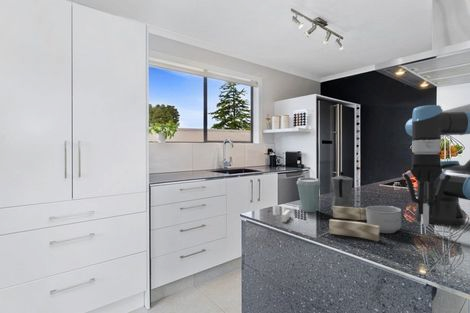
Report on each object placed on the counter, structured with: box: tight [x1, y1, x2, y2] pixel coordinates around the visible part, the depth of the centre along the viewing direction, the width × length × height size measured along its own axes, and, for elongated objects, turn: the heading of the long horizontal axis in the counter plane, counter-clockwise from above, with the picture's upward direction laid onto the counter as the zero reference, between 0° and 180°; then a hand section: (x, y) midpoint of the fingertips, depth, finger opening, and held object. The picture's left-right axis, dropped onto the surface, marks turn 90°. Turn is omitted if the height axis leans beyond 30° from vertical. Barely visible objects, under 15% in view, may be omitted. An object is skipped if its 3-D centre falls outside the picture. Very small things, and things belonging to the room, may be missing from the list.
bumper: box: [281, 209, 291, 223], centre depth 103 cm, size 2×8×3 cm, turn 155°
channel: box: [328, 206, 380, 242], centre depth 93 cm, size 15×26×4 cm, turn 155°
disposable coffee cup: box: [296, 176, 321, 213], centre depth 116 cm, size 11×11×15 cm
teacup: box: [365, 205, 402, 234], centre depth 89 cm, size 14×11×8 cm
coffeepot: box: [330, 171, 354, 212], centre depth 114 cm, size 15×9×18 cm, turn 153°
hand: (424, 223), depth 84 cm, fingers closed
